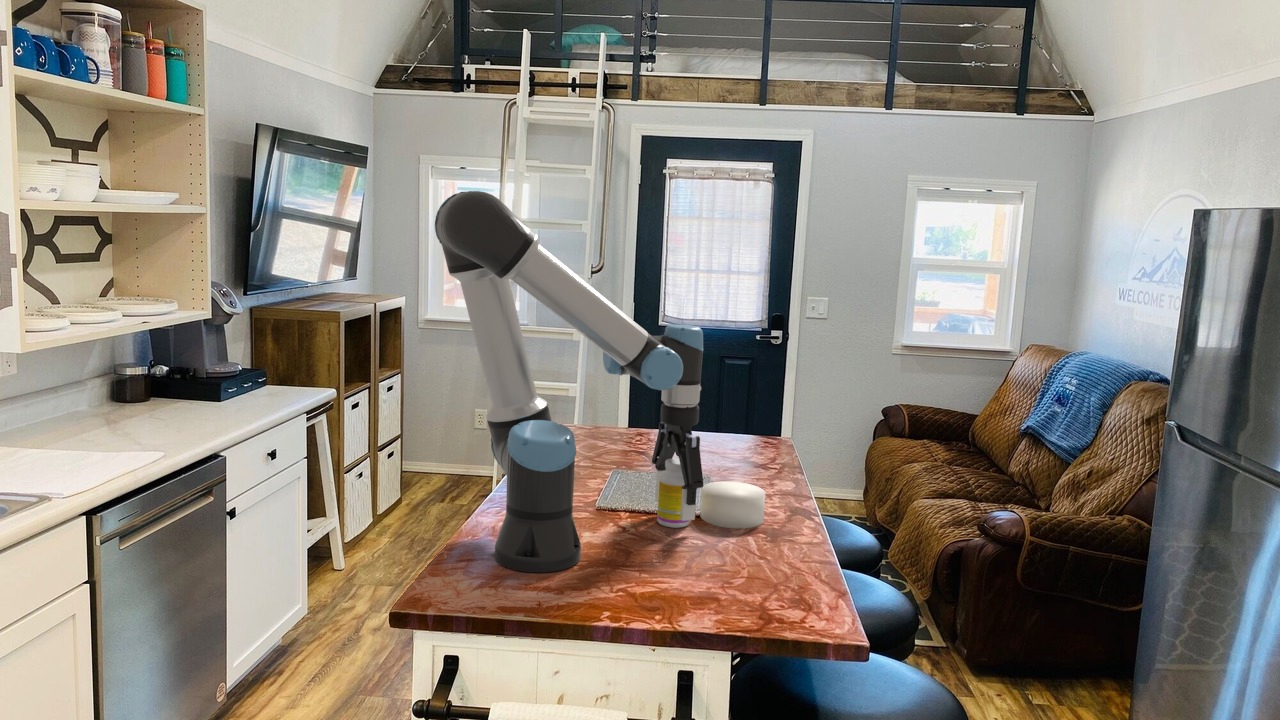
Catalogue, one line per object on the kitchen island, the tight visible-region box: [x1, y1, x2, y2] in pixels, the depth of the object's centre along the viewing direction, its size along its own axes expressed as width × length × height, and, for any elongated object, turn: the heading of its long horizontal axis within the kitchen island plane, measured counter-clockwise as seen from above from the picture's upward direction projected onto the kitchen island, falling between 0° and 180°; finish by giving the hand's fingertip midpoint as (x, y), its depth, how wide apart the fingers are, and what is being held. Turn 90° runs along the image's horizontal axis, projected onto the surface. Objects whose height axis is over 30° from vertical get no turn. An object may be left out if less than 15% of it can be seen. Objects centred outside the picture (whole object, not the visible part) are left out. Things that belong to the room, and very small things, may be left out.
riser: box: [699, 480, 766, 529], centre depth 189 cm, size 13×13×6 cm
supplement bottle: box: [656, 457, 691, 529], centre depth 183 cm, size 7×7×13 cm
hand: (674, 510), depth 184 cm, fingers open, 11 cm apart
